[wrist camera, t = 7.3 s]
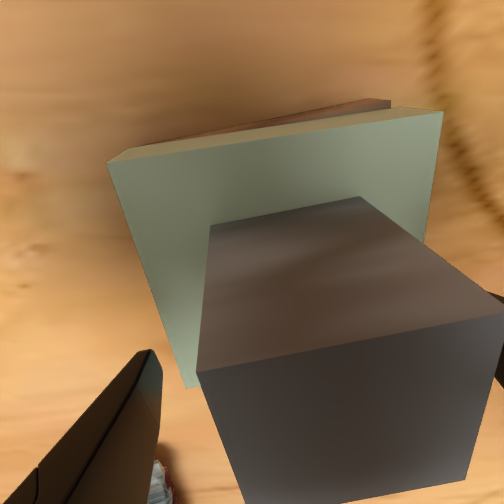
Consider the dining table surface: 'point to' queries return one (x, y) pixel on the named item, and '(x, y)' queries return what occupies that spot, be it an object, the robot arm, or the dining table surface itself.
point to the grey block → (342, 355)
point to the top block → (263, 193)
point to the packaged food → (161, 486)
